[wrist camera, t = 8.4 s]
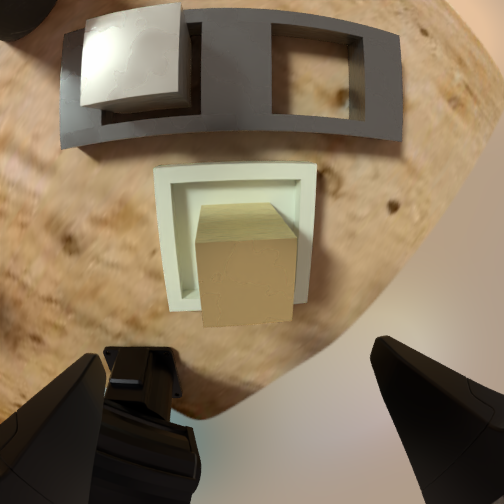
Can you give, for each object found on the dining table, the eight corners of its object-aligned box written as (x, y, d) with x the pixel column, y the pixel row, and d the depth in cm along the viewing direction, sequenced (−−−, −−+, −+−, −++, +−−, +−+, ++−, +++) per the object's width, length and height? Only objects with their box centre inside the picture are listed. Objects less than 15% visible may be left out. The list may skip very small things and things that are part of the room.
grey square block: (191, 107, 17) (177, 91, 11) (124, 114, 16) (80, 106, 10) (191, 44, 15) (181, 2, 9) (125, 52, 15) (86, 20, 8)
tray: (300, 290, 23) (307, 302, 21) (172, 298, 22) (169, 311, 20) (308, 161, 19) (316, 163, 18) (158, 165, 18) (153, 168, 16)
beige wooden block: (269, 202, 19) (297, 238, 13) (268, 264, 21) (292, 320, 15) (201, 205, 19) (194, 243, 13) (205, 267, 21) (203, 327, 14)
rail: (383, 139, 19) (401, 142, 17) (76, 147, 17) (60, 149, 14) (382, 42, 16) (399, 35, 14) (78, 42, 14) (64, 34, 11)
